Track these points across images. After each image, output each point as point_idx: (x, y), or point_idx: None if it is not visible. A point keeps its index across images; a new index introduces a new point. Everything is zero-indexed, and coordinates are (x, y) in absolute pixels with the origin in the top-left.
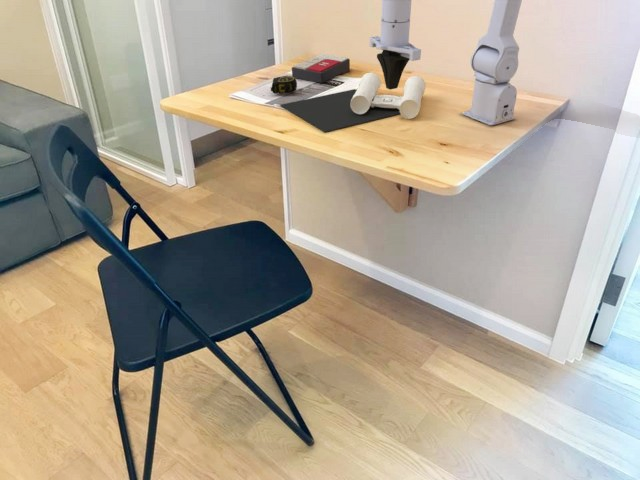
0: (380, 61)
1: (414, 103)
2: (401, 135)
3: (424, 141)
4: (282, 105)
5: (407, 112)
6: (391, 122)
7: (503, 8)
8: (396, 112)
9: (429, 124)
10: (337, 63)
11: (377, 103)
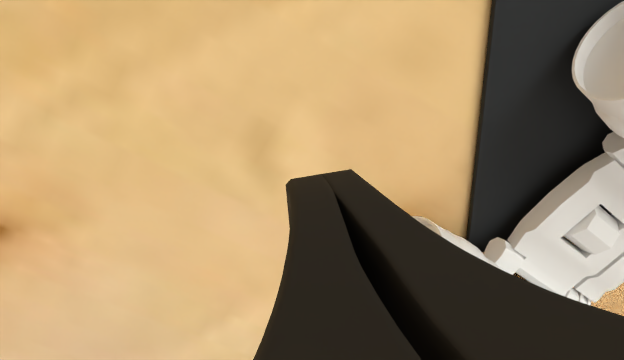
0: (560, 324)
1: None
2: (205, 99)
3: (64, 171)
4: None
5: None
6: (404, 141)
7: None
8: (488, 219)
9: (275, 286)
10: None
11: (606, 171)
